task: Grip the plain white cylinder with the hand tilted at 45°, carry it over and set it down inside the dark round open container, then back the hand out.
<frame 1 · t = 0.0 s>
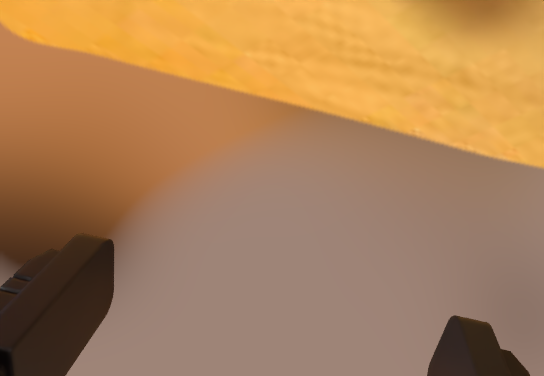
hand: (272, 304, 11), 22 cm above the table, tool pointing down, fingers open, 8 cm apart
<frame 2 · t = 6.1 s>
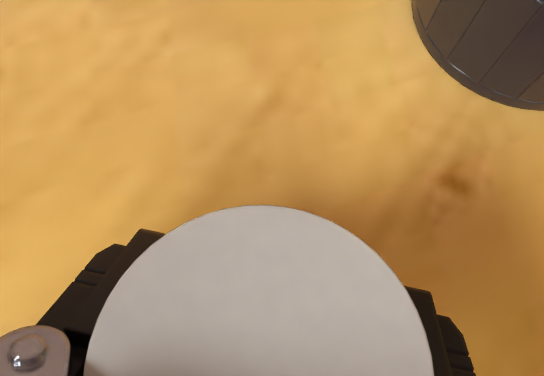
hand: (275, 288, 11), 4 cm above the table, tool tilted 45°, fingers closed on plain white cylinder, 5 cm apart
plain white cylinder: (261, 357, 15), on the table, touching gripper
dark round open container: (522, 11, 19), on the table
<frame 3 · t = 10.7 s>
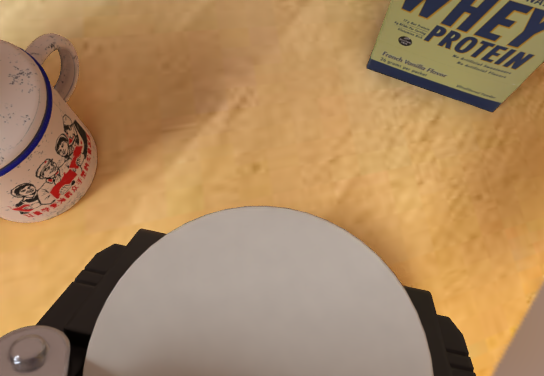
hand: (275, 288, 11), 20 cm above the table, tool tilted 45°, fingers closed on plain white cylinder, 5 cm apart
protein box: (452, 17, 38), on the table
plain white cylinder: (261, 358, 15), point 15 cm above the table, touching gripper
teacup with lid: (51, 150, 34), on the table
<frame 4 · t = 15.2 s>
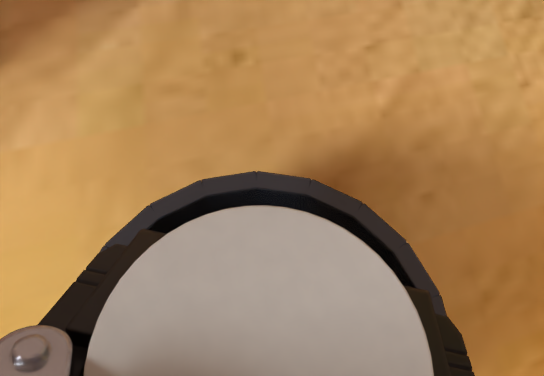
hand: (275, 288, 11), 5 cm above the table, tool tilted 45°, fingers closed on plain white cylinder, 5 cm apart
plain white cylinder: (262, 357, 15), point 1 cm above the table, touching dark round open container, gripper
dark round open container: (259, 355, 16), on the table
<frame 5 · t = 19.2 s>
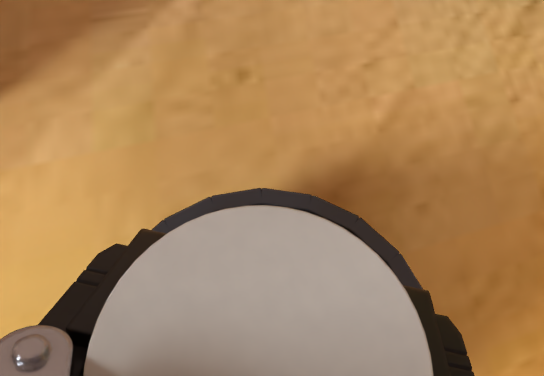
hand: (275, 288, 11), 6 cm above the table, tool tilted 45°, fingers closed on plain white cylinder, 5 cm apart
plain white cylinder: (261, 358, 15), point 2 cm above the table, touching gripper
dark round open container: (264, 357, 17), on the table
when the fingers open (6 cm above the table, at t = 22.7 s): plain white cylinder drops 1 cm, resting on dark round open container.
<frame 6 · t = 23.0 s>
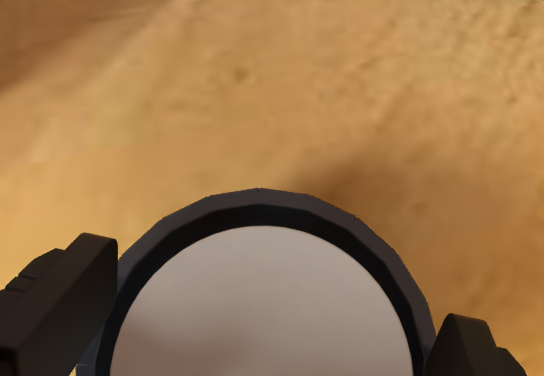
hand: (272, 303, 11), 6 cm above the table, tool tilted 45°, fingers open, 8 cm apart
plain white cylinder: (263, 359, 16), point 1 cm above the table, touching dark round open container
dark round open container: (261, 356, 17), on the table
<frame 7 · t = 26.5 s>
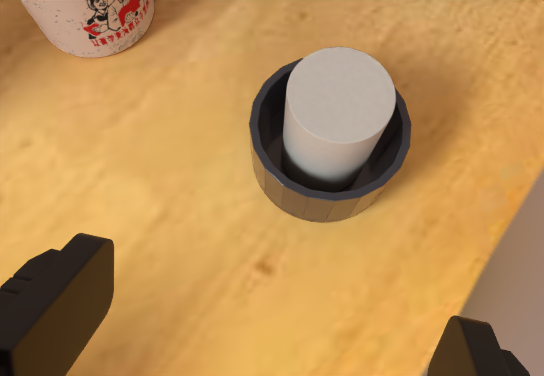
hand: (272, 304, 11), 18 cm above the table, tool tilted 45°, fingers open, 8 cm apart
plain white cylinder: (322, 153, 31), point 1 cm above the table, touching dark round open container
teacup with lid: (110, 0, 36), on the table
dark round open container: (320, 156, 32), on the table
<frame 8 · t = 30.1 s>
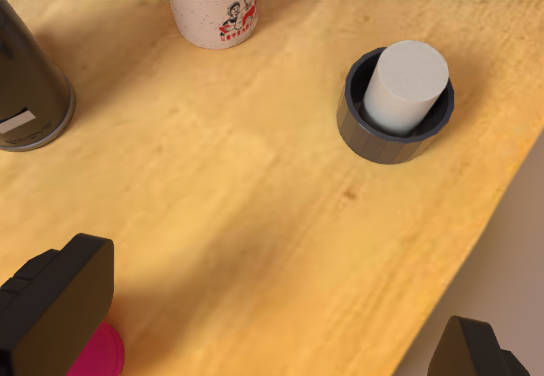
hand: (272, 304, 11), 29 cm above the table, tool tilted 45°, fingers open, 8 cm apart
plain white cylinder: (387, 117, 44), point 1 cm above the table, touching dark round open container
teacup with lid: (223, 7, 49), on the table
dark round open container: (385, 119, 44), on the table
pepper mill: (86, 358, 37), on the table
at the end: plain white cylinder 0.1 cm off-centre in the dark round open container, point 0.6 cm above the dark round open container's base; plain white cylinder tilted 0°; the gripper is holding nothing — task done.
